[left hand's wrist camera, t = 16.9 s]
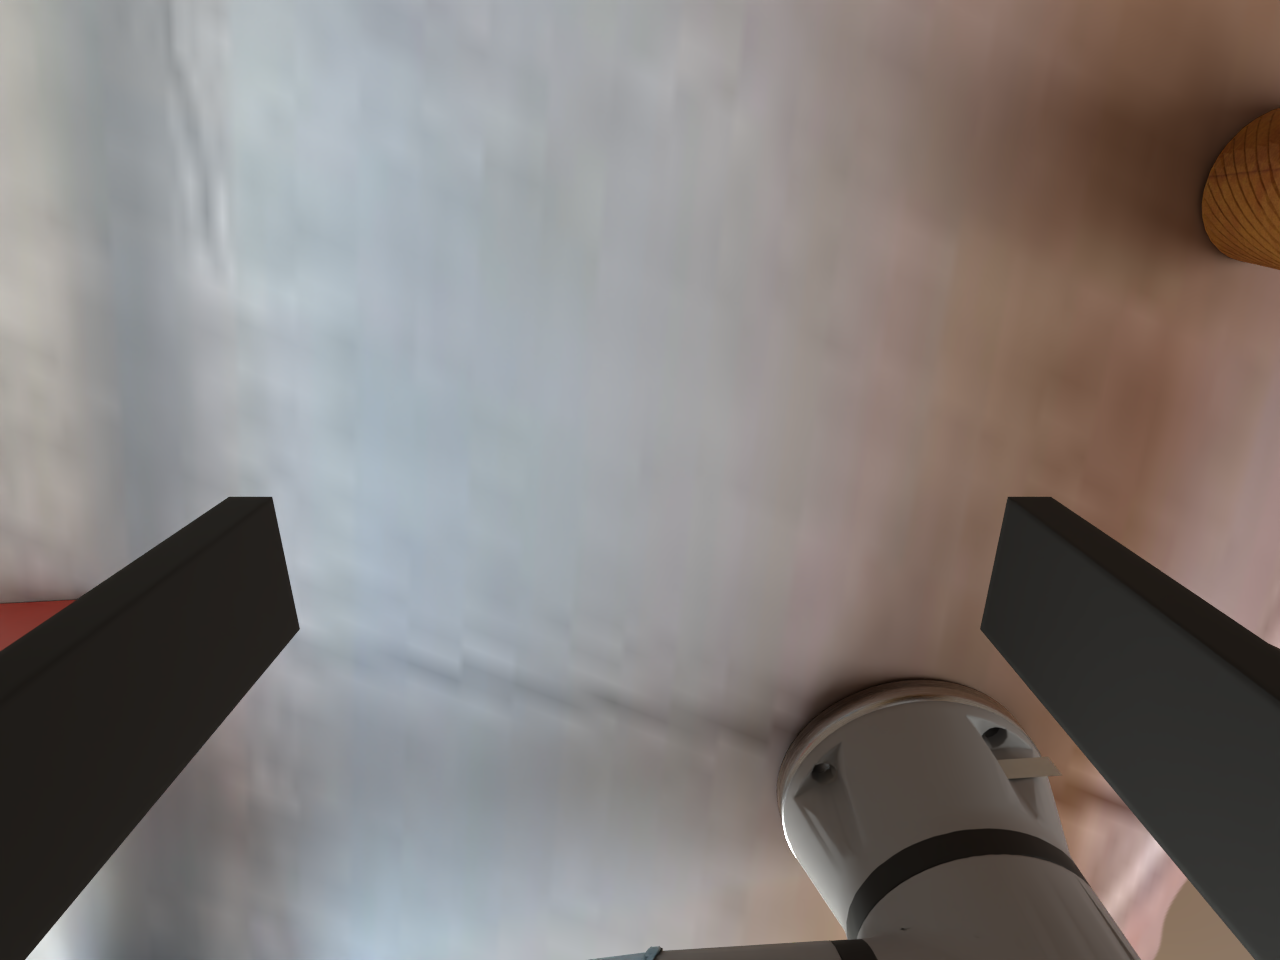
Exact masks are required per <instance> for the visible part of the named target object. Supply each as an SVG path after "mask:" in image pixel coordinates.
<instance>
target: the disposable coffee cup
mask: <svg viewBox="0 0 1280 960" xmlns="http://www.w3.org/2000/svg"><path fill="white" fill-rule="evenodd" d="M1202 218H1203V222H1204V226H1205V230H1206V232H1207V234H1208V236H1209V238H1210V240H1211V242H1212V243H1213V244H1214V245H1215V246H1216V247H1217V248H1218V249H1219V250H1220V251H1221V252H1222V253H1224V254H1225V255H1227V256H1228V257H1230V258H1233V259H1236V260H1239V261H1242V262H1248V263H1252V264H1257V265H1261V266H1265V267H1270V268H1274V269H1278V270H1280V108H1278V109H1275V110H1272V111H1270V112H1268V113H1266V114H1264V115H1262V116H1260V117H1258V118H1256V119H1255V120H1254V121H1252V122H1251V123H1249V124H1248V125H1247V126H1245V127H1244V128H1243V129H1242V130H1241V131H1240V132H1239V133H1238V134H1237V135H1236V136H1235V137H1234V138H1233V139H1232V140H1231V141H1230V142H1229V143H1228V144H1227V145H1226V147H1225V148H1224V149H1223V151H1222V152H1221V153H1220V155H1219V156H1218V158H1217V160H1216V162H1215V163H1214V165H1213V167H1212V169H1211V171H1210V173H1209V176H1208V180H1207V183H1206V186H1205V189H1204V193H1203V199H1202Z"/></svg>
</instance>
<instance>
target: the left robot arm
mask: <svg viewBox="0 0 1280 960" xmlns="http://www.w3.org/2000/svg"><path fill="white" fill-rule="evenodd" d="M299 629H300V628H299V623H298V618H297V614H296V609H295V604H294V599H293V595H292V590H291V585H290V580H289V575H288V571H287V566H286V561H285V556H284V551H283V547H282V542H281V537H280V532H279V528H278V523H277V518H276V513H275V508H274V504H273V499H272V497H228V498H227V499H225V500H224V501H222V502H221V503H219V504H218V505H216V506H215V507H213V508H212V509H210V510H209V511H207V512H206V513H205V514H203V515H202V516H200V517H199V518H197V519H196V520H194V521H193V522H191V523H190V524H188V525H187V526H185V527H184V528H182V529H181V530H179V531H178V532H176V533H175V534H173V535H172V536H170V537H169V538H167V539H166V540H164V541H163V542H162V543H160V544H159V545H157V546H156V547H154V548H153V549H151V550H150V551H148V552H147V553H145V554H144V555H142V556H141V557H139V558H138V559H136V560H135V561H133V562H132V563H130V564H129V565H127V566H126V567H124V568H123V569H121V570H120V571H119V572H117V573H116V574H114V575H113V576H111V577H110V578H108V579H107V580H105V581H104V582H102V583H101V584H99V585H98V586H96V587H95V588H93V589H92V590H90V591H89V592H87V593H86V594H84V595H83V596H81V597H80V598H78V599H77V600H76V601H74V602H73V603H71V604H70V605H68V606H67V607H65V608H64V609H62V610H61V611H59V612H58V613H56V614H55V615H53V616H52V617H50V618H49V619H47V620H46V621H44V622H43V623H41V624H40V625H38V626H37V627H35V628H34V629H33V630H31V631H30V632H28V633H27V634H25V635H24V636H22V637H21V638H19V639H18V640H16V641H15V642H13V643H12V644H10V645H9V646H7V647H6V648H4V649H3V650H1V651H0V960H25V959H26V958H27V957H28V955H29V954H30V953H31V952H32V951H33V949H34V948H35V947H36V946H37V945H38V943H39V942H40V941H41V940H42V939H43V937H44V936H45V935H46V934H47V933H48V931H49V930H50V929H51V928H52V927H53V925H54V924H55V923H56V922H57V921H58V919H59V918H60V917H61V916H62V915H63V913H64V912H65V911H66V910H67V908H68V907H69V906H70V905H71V904H72V902H73V901H74V900H75V899H76V898H77V896H78V895H79V894H80V893H81V892H82V890H83V889H84V888H85V887H86V886H87V884H88V883H89V882H90V881H91V880H92V878H93V877H94V876H95V875H96V874H97V872H98V871H99V870H100V869H101V868H102V866H103V865H104V864H105V863H106V862H107V860H108V859H109V858H110V857H111V856H112V854H113V853H114V852H115V851H116V850H117V848H118V847H119V846H120V845H121V844H122V842H123V841H124V840H125V839H126V838H127V836H128V835H129V834H130V833H131V832H132V830H133V829H134V828H135V827H136V825H137V824H138V823H139V822H140V821H141V819H142V818H143V817H144V816H145V815H146V813H147V812H148V811H149V810H150V809H151V807H152V806H153V805H154V804H155V803H156V801H157V800H158V799H159V798H160V797H161V795H162V794H163V793H164V792H165V791H166V789H167V788H168V787H169V786H170V785H171V783H172V782H173V781H174V780H175V779H176V777H177V776H178V775H179V774H180V773H181V771H182V770H183V769H184V768H185V767H186V765H187V764H188V763H189V762H190V761H191V759H192V758H193V757H194V756H195V755H196V753H197V752H198V751H199V750H200V749H201V747H202V746H203V745H204V744H205V742H206V741H207V740H208V739H209V738H210V736H211V735H212V734H213V733H214V732H215V730H216V729H217V728H218V727H219V726H220V724H221V723H222V722H223V721H224V720H225V718H226V717H227V716H228V715H229V714H230V712H231V711H232V710H233V709H234V708H235V706H236V705H237V704H238V703H239V702H240V700H241V699H242V698H243V697H244V696H245V694H246V693H247V692H248V691H249V690H250V688H251V687H252V686H253V685H254V684H255V682H256V681H257V680H258V679H259V678H260V676H261V675H262V674H263V673H264V672H265V670H266V669H267V668H268V667H269V666H270V664H271V663H272V662H273V661H274V659H275V658H276V657H277V656H278V655H279V653H280V652H281V651H282V650H283V649H284V647H285V646H286V645H287V644H288V643H289V641H290V640H291V639H292V638H293V637H294V635H295V634H296V633H297V632H298V631H299ZM980 629H981V631H982V632H983V633H984V634H985V635H986V637H987V638H988V639H989V640H990V641H991V643H992V644H993V645H994V646H995V647H996V649H997V650H998V651H999V652H1000V653H1001V655H1002V656H1003V657H1004V658H1005V659H1006V661H1007V662H1008V663H1009V664H1010V666H1011V667H1012V668H1013V669H1014V670H1015V672H1016V673H1017V674H1018V675H1019V676H1020V678H1021V679H1022V680H1023V681H1024V682H1025V684H1026V685H1027V686H1028V687H1029V688H1030V690H1031V691H1032V692H1033V693H1034V694H1035V696H1036V697H1037V698H1038V699H1039V700H1040V702H1041V703H1042V704H1043V705H1044V706H1045V708H1046V709H1047V710H1048V711H1049V712H1050V714H1051V715H1052V716H1053V717H1054V718H1055V720H1056V721H1057V722H1058V723H1059V724H1060V726H1061V727H1062V728H1063V729H1064V730H1065V732H1066V733H1067V734H1068V735H1069V736H1070V738H1071V739H1072V740H1073V741H1074V742H1075V744H1076V745H1077V746H1078V747H1079V749H1080V750H1081V751H1082V752H1083V753H1084V755H1085V756H1086V757H1087V758H1088V759H1089V761H1090V762H1091V763H1092V764H1093V765H1094V767H1095V768H1096V769H1097V770H1098V771H1099V773H1100V774H1101V775H1102V776H1103V777H1104V779H1105V780H1106V781H1107V782H1108V783H1109V785H1110V786H1111V787H1112V788H1113V789H1114V791H1115V792H1116V793H1117V794H1118V795H1119V797H1120V798H1121V799H1122V800H1123V801H1124V803H1125V804H1126V805H1127V806H1128V807H1129V809H1130V810H1131V811H1132V812H1133V813H1134V815H1135V816H1136V817H1137V818H1138V819H1139V821H1140V822H1141V823H1142V824H1143V825H1144V827H1145V828H1146V829H1147V830H1148V832H1149V833H1150V834H1151V835H1152V836H1153V838H1154V839H1155V840H1156V841H1157V842H1158V844H1159V845H1160V846H1161V847H1162V848H1163V850H1164V851H1165V852H1166V853H1167V854H1168V856H1169V857H1170V858H1171V859H1172V860H1173V862H1174V863H1175V864H1176V865H1177V866H1178V868H1179V869H1180V870H1181V871H1182V872H1183V874H1184V875H1185V876H1186V877H1187V878H1188V880H1189V881H1190V882H1191V883H1192V884H1193V886H1194V887H1195V888H1196V889H1197V890H1198V892H1199V893H1200V894H1201V895H1202V896H1203V898H1204V899H1205V900H1206V901H1207V902H1208V904H1209V905H1210V906H1211V907H1212V908H1213V910H1214V911H1215V912H1216V913H1217V914H1218V916H1219V917H1220V918H1221V919H1222V920H1223V922H1224V923H1225V924H1226V925H1227V927H1228V928H1229V929H1230V930H1231V931H1232V933H1233V934H1234V935H1235V936H1236V937H1237V939H1238V940H1239V941H1240V942H1241V943H1242V945H1243V946H1244V947H1245V948H1246V949H1247V951H1248V952H1249V953H1250V954H1251V955H1252V957H1253V958H1254V959H1255V960H1280V649H1279V648H1277V647H1275V646H1273V645H1270V644H1268V643H1267V642H1265V641H1264V640H1262V639H1261V638H1259V637H1258V636H1256V635H1255V634H1253V633H1252V632H1250V631H1249V630H1247V629H1246V628H1245V627H1243V626H1242V625H1240V624H1239V623H1237V622H1236V621H1234V620H1233V619H1231V618H1230V617H1228V616H1227V615H1225V614H1224V613H1222V612H1221V611H1219V610H1218V609H1216V608H1215V607H1213V606H1212V605H1210V604H1209V603H1207V602H1206V601H1204V600H1203V599H1202V598H1200V597H1199V596H1197V595H1196V594H1194V593H1193V592H1191V591H1190V590H1188V589H1187V588H1185V587H1184V586H1182V585H1181V584H1179V583H1178V582H1176V581H1175V580H1173V579H1172V578H1170V577H1169V576H1167V575H1166V574H1164V573H1163V572H1161V571H1160V570H1159V569H1157V568H1156V567H1154V566H1153V565H1151V564H1150V563H1148V562H1147V561H1145V560H1144V559H1142V558H1141V557H1139V556H1138V555H1136V554H1135V553H1133V552H1132V551H1130V550H1129V549H1127V548H1126V547H1124V546H1123V545H1121V544H1120V543H1118V542H1117V541H1116V540H1114V539H1113V538H1111V537H1110V536H1108V535H1107V534H1105V533H1104V532H1102V531H1101V530H1099V529H1098V528H1096V527H1095V526H1093V525H1092V524H1090V523H1089V522H1087V521H1086V520H1084V519H1083V518H1081V517H1080V516H1078V515H1077V514H1075V513H1074V512H1072V511H1071V510H1070V509H1068V508H1067V507H1065V506H1064V505H1062V504H1061V503H1059V502H1058V501H1056V500H1055V499H1053V498H1052V497H1008V499H1007V504H1006V508H1005V513H1004V518H1003V523H1002V528H1001V532H1000V537H999V542H998V547H997V551H996V556H995V561H994V566H993V571H992V575H991V580H990V585H989V590H988V594H987V599H986V604H985V609H984V614H983V618H982V623H981V628H980ZM1060 775H1062V774H1061V773H1060V772H1059V770H1058V769H1057V768H1056V766H1055V765H1054V764H1053V763H1052V761H1051V760H1050V759H1049V757H1041V755H1040V753H1039V751H1038V749H1037V748H1036V746H1035V744H1034V743H1033V742H1032V740H1031V739H1030V738H1029V736H1028V735H1027V734H1026V732H1025V731H1024V730H1023V728H1022V727H1021V726H1020V724H1019V723H1018V722H1017V721H1016V719H1015V718H1014V717H1013V716H1012V714H1011V713H1010V712H1009V711H1007V710H1006V709H1005V708H1004V707H1003V706H1002V705H1001V704H999V703H998V702H997V701H995V700H994V699H992V698H990V697H989V696H987V695H985V694H983V693H981V692H979V691H977V690H975V689H972V688H969V687H966V686H963V685H959V684H955V683H951V682H944V681H937V680H907V681H897V682H892V683H886V684H882V685H878V686H874V687H871V688H868V689H865V690H862V691H859V692H857V693H855V694H853V695H850V696H848V697H846V698H844V699H842V700H840V701H838V702H837V703H835V704H833V705H832V706H830V707H829V708H827V709H826V710H824V711H823V712H822V713H820V714H819V715H818V716H817V717H815V718H814V719H813V720H812V721H811V722H810V723H809V724H808V725H807V726H806V727H805V728H804V729H803V730H802V731H801V732H800V733H799V735H798V736H797V737H796V739H795V740H794V741H793V743H792V744H791V746H790V748H789V749H788V751H787V753H786V755H785V757H784V760H783V762H782V765H781V768H780V771H779V775H778V781H777V802H778V807H779V812H780V816H781V820H782V824H783V829H784V833H785V836H786V839H787V842H788V844H789V846H790V848H791V850H792V852H793V854H794V855H795V857H796V858H797V860H798V861H799V863H800V864H801V866H802V867H803V869H804V870H805V872H806V873H807V875H808V876H809V878H810V879H811V881H812V882H813V884H814V885H815V887H816V888H817V890H818V891H819V893H820V894H821V896H822V897H823V899H824V900H825V902H826V903H827V905H828V906H829V908H830V909H831V911H832V912H833V914H834V915H835V917H836V918H837V920H838V921H839V923H840V924H841V926H842V927H843V929H844V930H845V933H846V936H847V939H848V940H836V941H813V942H797V943H781V944H765V945H749V946H733V947H717V948H702V949H686V950H670V951H663V949H662V948H661V947H660V946H659V947H650V948H649V949H648V950H647V951H646V953H638V954H630V955H622V956H614V957H606V958H598V959H590V960H1141V959H1140V958H1139V956H1138V955H1137V953H1136V952H1135V950H1134V949H1133V947H1132V946H1131V945H1130V943H1129V942H1128V940H1127V939H1126V937H1125V936H1124V934H1123V933H1122V931H1121V930H1120V929H1119V927H1118V926H1117V924H1116V923H1115V921H1114V920H1113V918H1112V917H1111V916H1110V914H1109V913H1108V911H1107V910H1106V908H1105V907H1104V905H1103V904H1102V903H1101V901H1100V900H1099V898H1098V897H1097V895H1096V894H1095V892H1094V891H1093V890H1092V888H1091V887H1090V885H1089V884H1088V882H1087V881H1086V879H1085V878H1084V876H1083V875H1082V873H1081V872H1080V870H1079V869H1078V868H1077V866H1076V865H1075V863H1074V861H1073V860H1072V858H1071V856H1070V853H1069V850H1068V846H1067V843H1066V839H1065V836H1064V832H1063V829H1062V825H1061V821H1060V818H1059V814H1058V811H1057V807H1056V804H1055V800H1054V797H1053V793H1052V790H1051V786H1050V783H1049V779H1048V776H1060Z"/></svg>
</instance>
